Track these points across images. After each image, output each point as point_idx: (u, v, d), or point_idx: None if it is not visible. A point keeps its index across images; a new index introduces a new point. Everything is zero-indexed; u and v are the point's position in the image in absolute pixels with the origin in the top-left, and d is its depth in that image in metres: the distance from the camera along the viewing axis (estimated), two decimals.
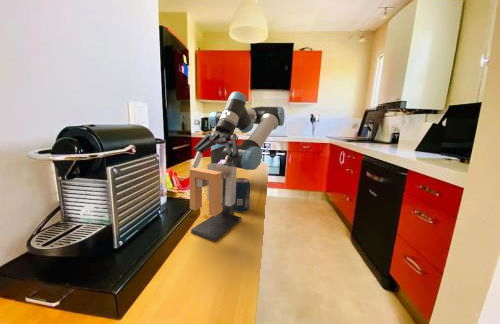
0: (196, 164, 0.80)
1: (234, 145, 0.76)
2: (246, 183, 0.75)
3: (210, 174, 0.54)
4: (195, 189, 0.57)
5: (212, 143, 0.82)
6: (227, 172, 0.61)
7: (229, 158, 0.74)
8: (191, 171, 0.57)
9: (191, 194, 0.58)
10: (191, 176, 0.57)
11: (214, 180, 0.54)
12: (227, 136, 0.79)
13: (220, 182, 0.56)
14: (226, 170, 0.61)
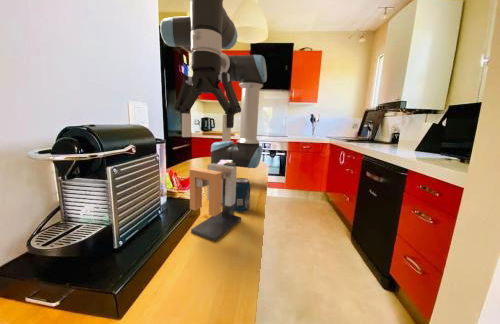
0: (188, 131, 0.57)
1: (229, 95, 0.48)
2: (246, 183, 0.75)
3: (210, 174, 0.54)
4: (195, 189, 0.57)
5: (196, 94, 0.54)
6: (227, 172, 0.61)
7: (228, 117, 0.50)
8: (191, 171, 0.57)
9: (191, 194, 0.58)
10: (191, 176, 0.57)
11: (214, 180, 0.54)
12: (214, 79, 0.49)
13: (220, 182, 0.56)
14: (226, 170, 0.61)
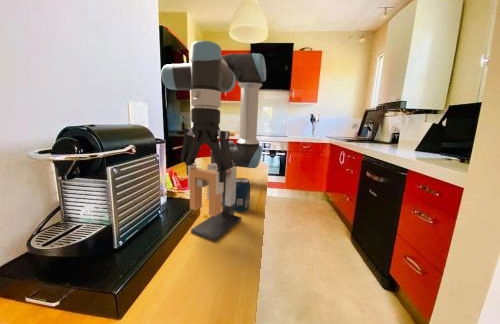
0: None
1: (224, 153, 0.51)
2: (246, 183, 0.75)
3: (210, 174, 0.54)
4: (195, 189, 0.57)
5: (199, 144, 0.56)
6: (227, 172, 0.61)
7: (221, 173, 0.53)
8: (191, 171, 0.57)
9: (191, 194, 0.58)
10: (191, 176, 0.57)
11: (214, 180, 0.54)
12: (212, 133, 0.52)
13: None
14: (226, 170, 0.61)
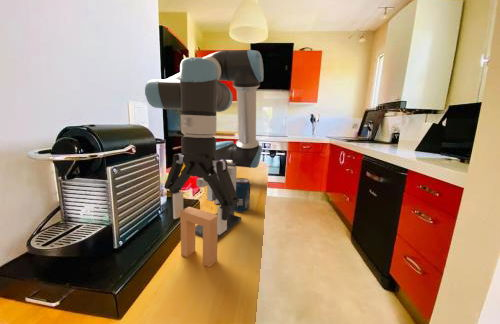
0: None
1: (225, 187, 0.42)
2: (246, 183, 0.75)
3: (204, 219, 0.46)
4: (187, 233, 0.49)
5: (189, 175, 0.48)
6: None
7: (224, 210, 0.44)
8: (182, 213, 0.49)
9: (183, 239, 0.50)
10: (182, 219, 0.49)
11: (209, 227, 0.45)
12: (207, 166, 0.43)
13: (216, 227, 0.48)
14: None
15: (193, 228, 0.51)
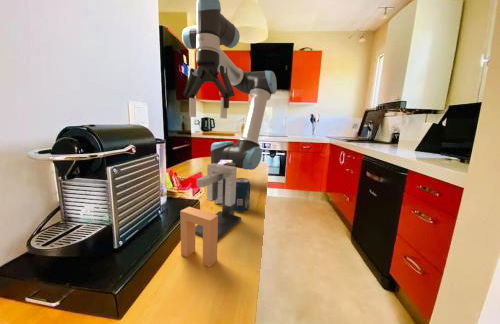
0: (194, 112, 0.74)
1: (225, 82, 0.64)
2: (246, 183, 0.75)
3: (204, 219, 0.46)
4: (187, 233, 0.49)
5: (200, 83, 0.70)
6: (227, 172, 0.61)
7: (225, 100, 0.66)
8: (182, 213, 0.49)
9: (183, 239, 0.50)
10: (182, 219, 0.49)
11: (209, 227, 0.45)
12: (214, 71, 0.66)
13: (216, 227, 0.48)
14: (226, 170, 0.61)
15: (193, 228, 0.51)
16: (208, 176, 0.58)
